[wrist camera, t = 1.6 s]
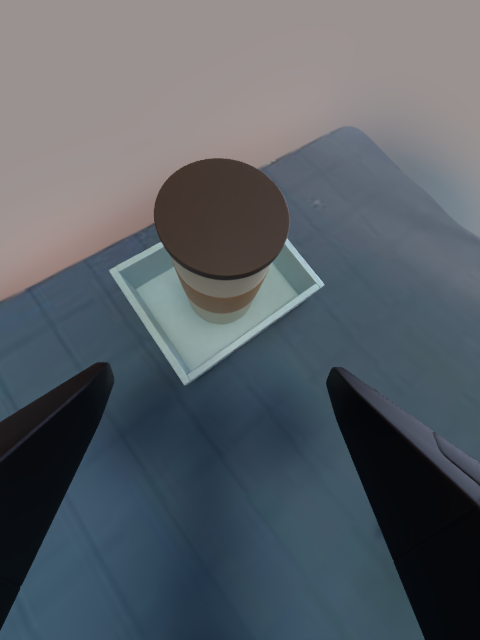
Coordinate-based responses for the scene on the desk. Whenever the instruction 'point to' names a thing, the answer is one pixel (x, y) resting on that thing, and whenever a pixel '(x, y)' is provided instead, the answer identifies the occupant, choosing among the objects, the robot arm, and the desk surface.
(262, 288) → the tub
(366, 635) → the desk surface
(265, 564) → the desk surface
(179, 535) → the desk surface
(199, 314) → the cup
